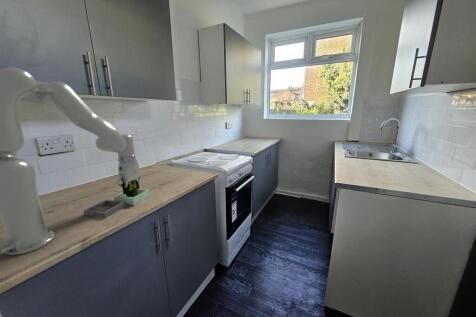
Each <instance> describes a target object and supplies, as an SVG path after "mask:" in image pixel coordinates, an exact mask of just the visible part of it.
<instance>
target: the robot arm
mask: <svg viewBox="0 0 476 317" xmlns="http://www.w3.org/2000/svg"><path fill="white" fill-rule="evenodd" d="M22 101H23V102H28V103H32V104H33V103H34V104H38V105H39V104H40V105H46V106H55V107H56V108H57V109H58V110H59V111H60V112H61V113H62V114H63V115H64V116H65V117H66V118H67V119H68V120H69V121H70V122H72V123H73V124H74V126H76V127H79V129H82V130H85V131H87V132H90V133H92V134H93V135H95V136H96V137H97V138H96V140H95V147H97V149H98V150H100V151H103V152H107V153H108V152H109V153H116V154H117V158H118V159H117V162H118V164H117V165H118V166H117V167H118V168H117V172H118V179H117V181H116V184H117V185H118V186H119V187H121V188H122V192H123V194H127V195H128V194H129V187H127V186H128V182H130V181H132V180H135V179H136V186H137V189H140V183H139V182H140V179H141V176H142V172H141V170H140V166H139V162H138V160H137V159H136V158H137V157H136V152H135V144H134V137H133V135H132V134H129V133H128V134H127V133H124V134H121V133H120V132H119V131H118V130H117V128H115V127H114V126H113V125H112V124H110V123H109V122H108V121H106V120H105V119H103V118H102V117H101V116H99V115H98V114H96V113H95V111H93V110H92V109H91V108H90V106H88V104H87V103H86V102H85V101H84V100H83V99H82V98H81V97H80V96H79V95H78V94H77V92H76V91H75V90H74V89H73V88H72V87H71V86H70V85H68V84H67V83H65V82H62V81H51V82H50V81H49V82H44V81H39V80H35V77H34V76H33V75H32V74H31V73H30V72H28V71H26V70H24V69H21V68H17V67H7V68H2V69H0V217H1V221H2V225H3V227H4V231H5V233H6V238H5V239H3V242H2V243H1V244H0V254H1V255H3V254H5V255H9V256H17V255H23V254H27V253H30V252H33V251H35V250H37V249H40V248H43V247H44V246H47V244H49V243H51V242H52V241H53V239H54V238H55V236H56V233H55V232H54V231H53V230H48V226H47V223H46V218H45V214H44V211H43V210H44V209H43V207H42V202H41V199H40V195H39V192H38V186H37V177H36V176H37V174H36V171H35V169H34V167H33V165H32V164H31V163H30V162H28V161H27V160H26V159H23V158H21V157H19V155H18V151H19V150H21V149H22V148H23V146H24V144H25V137H24V134H23V130H22V125H21V121H20V115H19V104H20V102H22ZM124 182H125V184H124Z"/></svg>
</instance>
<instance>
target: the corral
mask: <svg viewBox="0 0 476 317" xmlns="http://www.w3.org/2000/svg"><path fill="white" fill-rule="evenodd" d="M105 206H112V207H111V208H109V209H107V210H105V211H98V210H99V209H102V208H103V207H105ZM125 207H126V205H125V202H122V201H115V199H113V200H111V199H103V200H102V201H100V202H97V203H95V204H93V205H92V206H90V207H89V206H88V207H87V208H85V209H83V214H84V216H87V217H93V218H94V217H95V218H102V219H106V218H108V217H110V216H111V215H113V214H115V213H117V212H119V211H121V209H124V208H125Z"/></svg>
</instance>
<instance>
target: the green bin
mask: <svg viewBox="0 0 476 317" xmlns="http://www.w3.org/2000/svg"><path fill="white" fill-rule="evenodd" d="M137 194H138V195H137V196H135V197H134V198H131V197H126V194H123V191H122V192H120V193H118V194H116V195H114V196H113V200H114V201H122V202H125V206H133V207H135V206H136V205H138V204H140V203H141V202H143V201H145V200H147V199H148V198H150V196H151V195H150V190H149V189H145V188H144V189H143V188H139V189H137Z"/></svg>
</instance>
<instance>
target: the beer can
mask: <svg viewBox="0 0 476 317" xmlns="http://www.w3.org/2000/svg"><path fill="white" fill-rule="evenodd" d="M124 184H125V182H124ZM127 187H129V194H128V195H127V194H126V197H131V198H134V197H135V196H137V195H138V194H137V186H136V179H135V180H132V181H130V182H128V186H127Z"/></svg>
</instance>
